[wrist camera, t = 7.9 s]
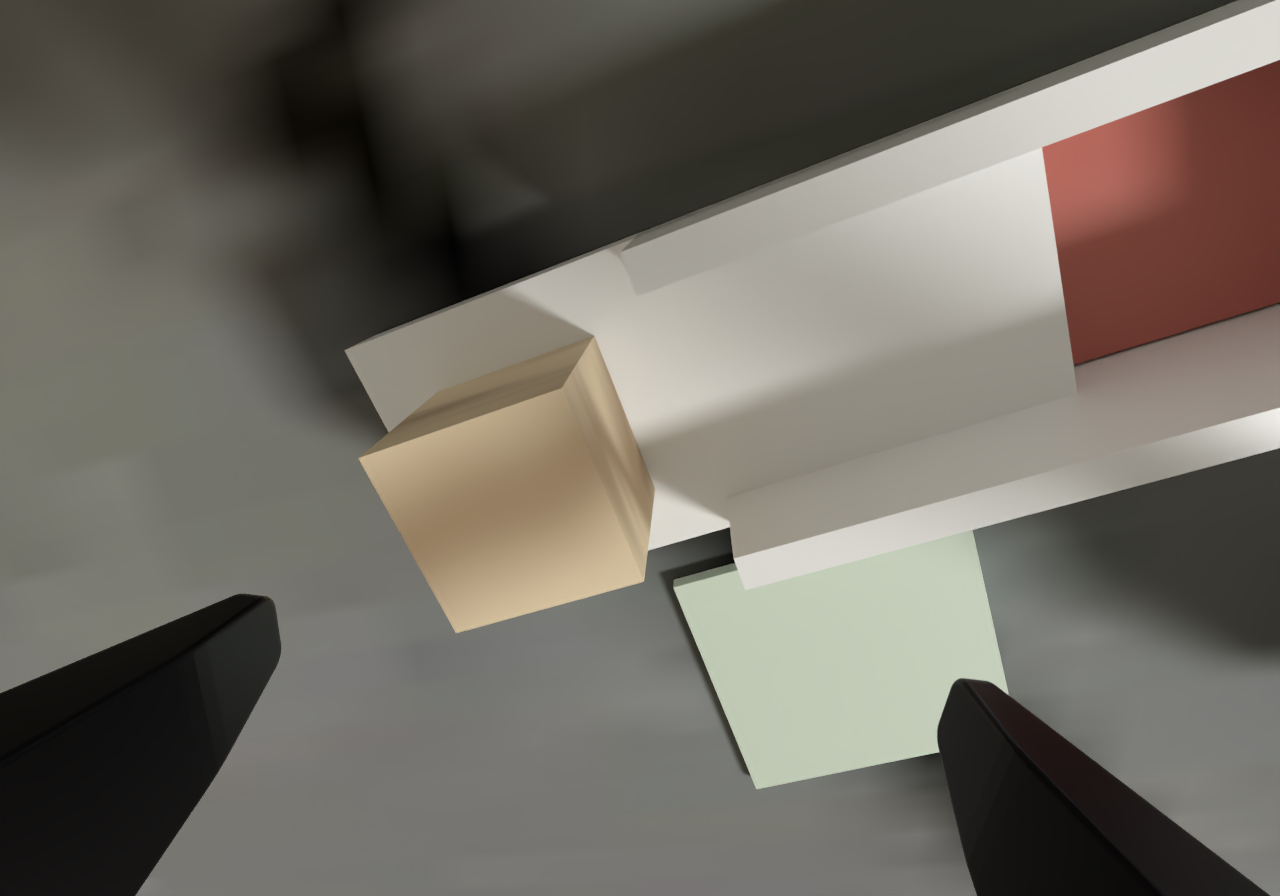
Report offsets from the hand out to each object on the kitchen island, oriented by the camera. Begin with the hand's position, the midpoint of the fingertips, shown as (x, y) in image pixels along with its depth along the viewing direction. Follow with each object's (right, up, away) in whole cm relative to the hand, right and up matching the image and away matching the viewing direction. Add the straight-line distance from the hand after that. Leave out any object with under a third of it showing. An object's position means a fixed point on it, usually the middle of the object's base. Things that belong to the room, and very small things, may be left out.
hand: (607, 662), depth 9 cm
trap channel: (+6, +6, +11) cm, 14 cm away
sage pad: (+8, -5, +16) cm, 18 cm away
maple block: (-2, +3, +11) cm, 12 cm away
